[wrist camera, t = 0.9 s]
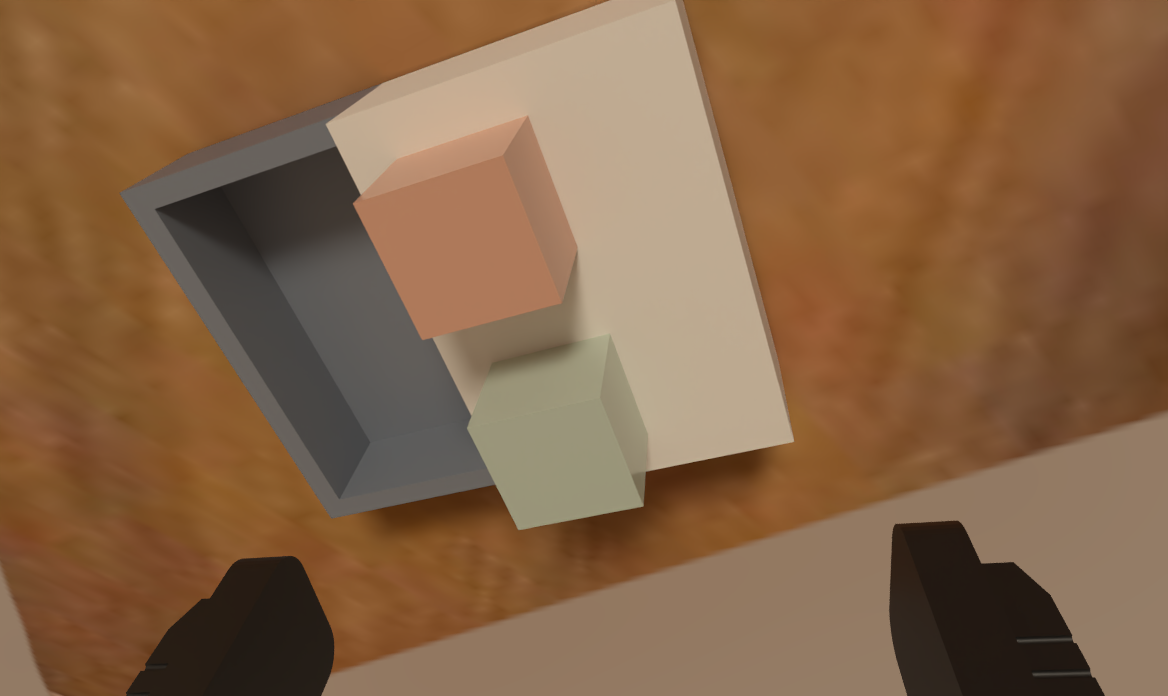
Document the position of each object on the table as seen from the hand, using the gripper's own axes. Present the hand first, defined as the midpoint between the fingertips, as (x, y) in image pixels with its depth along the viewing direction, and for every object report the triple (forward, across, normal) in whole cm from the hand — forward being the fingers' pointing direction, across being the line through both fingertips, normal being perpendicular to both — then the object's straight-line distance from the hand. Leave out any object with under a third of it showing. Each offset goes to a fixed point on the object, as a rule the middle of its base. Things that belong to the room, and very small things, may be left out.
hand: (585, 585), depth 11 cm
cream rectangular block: (+19, +2, +2) cm, 19 cm away
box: (+19, +11, +4) cm, 22 cm away
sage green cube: (+14, +3, +6) cm, 15 cm away
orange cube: (+14, +4, -1) cm, 14 cm away
